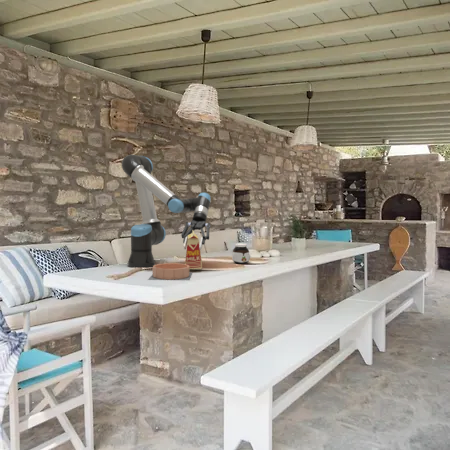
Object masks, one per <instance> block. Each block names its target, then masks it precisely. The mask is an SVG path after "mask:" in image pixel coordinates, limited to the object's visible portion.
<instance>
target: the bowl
mask: <svg viewBox="0 0 450 450" xmlns="http://www.w3.org/2000/svg"><path fill="white" fill-rule="evenodd" d="M190 273H191V269H190V266H189V265H187V264H185V263H179V262H178V263H175V262H173V263H172V262H168V263H158V264H155V265H154V266H153V267H152V274H153V277H154V278H157V279H166V280H165V281H176V280H175V279H184V278H187V277H189V274H190Z"/></svg>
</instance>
